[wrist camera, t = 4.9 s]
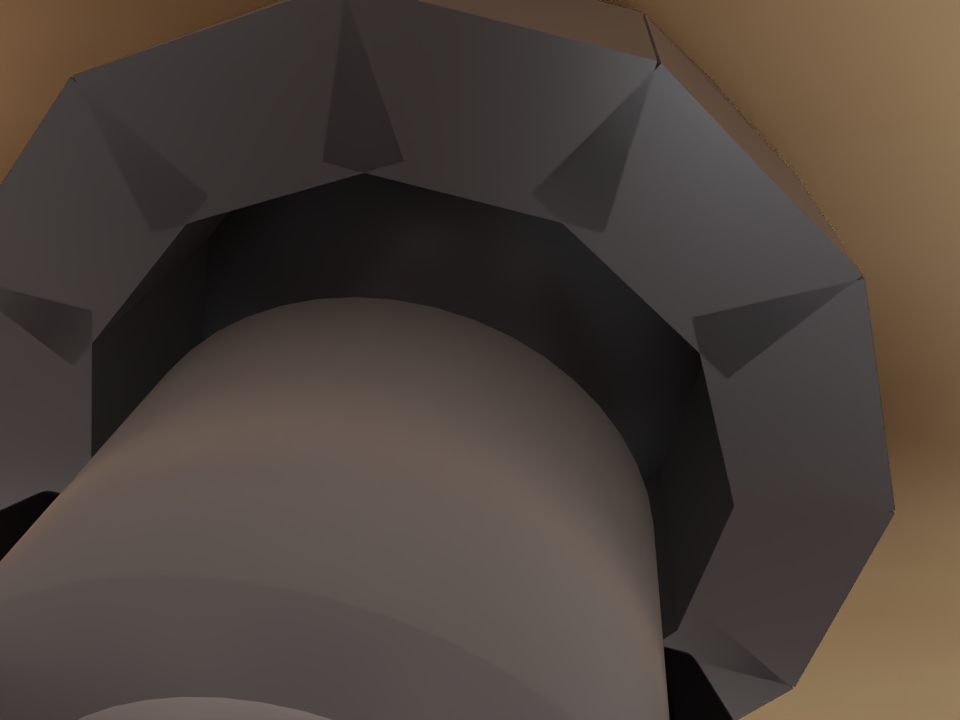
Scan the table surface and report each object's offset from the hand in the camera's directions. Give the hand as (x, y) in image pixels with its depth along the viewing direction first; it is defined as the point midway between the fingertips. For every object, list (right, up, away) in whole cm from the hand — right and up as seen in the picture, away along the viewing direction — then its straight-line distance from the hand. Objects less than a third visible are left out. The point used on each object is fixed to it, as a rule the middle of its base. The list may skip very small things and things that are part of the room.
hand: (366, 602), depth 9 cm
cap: (0, 0, +1) cm, 1 cm away
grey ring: (+1, +3, +6) cm, 6 cm away
